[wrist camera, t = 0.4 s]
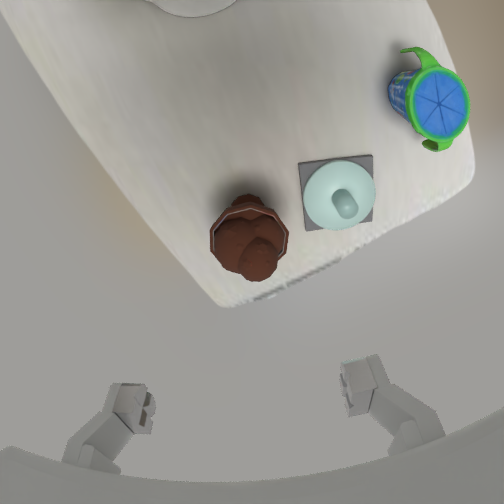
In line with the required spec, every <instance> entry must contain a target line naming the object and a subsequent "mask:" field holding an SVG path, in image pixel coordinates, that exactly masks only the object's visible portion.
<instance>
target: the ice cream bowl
mask: <svg viewBox="0 0 504 504" xmlns="http://www.w3.org/2000/svg"><path fill="white" fill-rule="evenodd" d="M288 236H289V231H288V230H287V228H286V227H285V225H284V224H283V222H282V221H281V220H280V218H279V217H278V215H277V214H276V212H275V211H274V210H273V209H271V208H268V207H265V206H264V204H263V203H262V201H261V200H260V198H259V197H256V196H253V195H250V194H247V195H243V196H239V197H237V199H236V200H235V201H234V202H233V203H232V204H231V207H228V208H226V210H225V211H224V212H223V213H222V214H221V216H220V217H219V218H218V219H217V220H216V222H215V223H214V224H213V225H212V227H211V229H210V251H211V252H212V253H213V255H214V256H215V257H216V258H217V260H218V261H219V262H220V263H221V264H222V267H223V268H225V269H226V270H228V271H231V272H235V273H238V274H242V276H243V277H244V278H245V279H246V280H249V281H251V282H253V281H257V282H260V281H263V280H265V279H267V278H269V277H270V276H271V275H272V274H273V272H274V271H275V270H276V268H277V262H278V260H279V259H280V258H281V257H282V256H283V255H285V254H286V251H287V243H288Z"/></svg>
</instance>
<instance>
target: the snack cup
mask: <svg viewBox="0 0 504 504" xmlns="http://www.w3.org/2000/svg"><path fill="white" fill-rule="evenodd" d="M412 51H413V52H415V53H416V55H417V56H418V57H419V59H420V61H421V64H422V65H421V66H422V68H420V69H418V70H412V71H406V72H401V73H399V74H398V75H397V76H395V77H394V78H393V80H392V81H391V84H390V85H389V87H388V92H389V99H390V102H391V104H392V106H393V108H394V109H395V110H396V111H397V112H398V113H399V114H400V115H401V116H402V117H403V118H405V119H406V120H407V121H408V122H410V123H411V124H412V126H413V128H414V129H415V131H416V132H417V133H420V134H421V135H422V136H424V137H426V138H428V139H427V140H424V141H423V142H422V145H423V146H424V147H425V148H427V149H429V150H431V151H434V152H438V151H442V150H445V149H447V148H449V147H450V146H451V144H452V142H453V139H454V138H456V137H457V136H458V135H459V134H460V133H461V132H462V131H463V129H464V128H465V126H466V124H467V122H468V119H469V114H470V99H469V95H468V91H467V89H466V87H465V85H464V83H463V82H462V80H461V79H460V78H459V77H458V76H457V75H456V74H455V73H454V72H452V71H451V70H449V69H446V68H444V67H442V66H440V64H439V63H438V62H437V60H436V59H435V58H434V57H433V56H432V55H431V54H430V53H429V52H427V51H426V50H424V49H422V48H420V47H413V48H407V49H403V50H401V51H400V52H401V53H406V52H412Z"/></svg>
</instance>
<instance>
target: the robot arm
mask: <svg viewBox="0 0 504 504" xmlns="http://www.w3.org/2000/svg"><path fill="white" fill-rule="evenodd" d="M145 1H150V2H152V3H154V4H155V5H157V6H158V7H159V8H161V9H162V10H164V11H166V12H168V13H170V14H173V15H177V16H182V17H200V16H206V15H210V14H213V13H216V12H219V11H221V10H223V9H225V8H227V7H228V6H230V5H231V4H233V3H234V2H235V1H236V0H145ZM340 368H341V372H342V373H341V374H340V387H341V392H342V395H343V396H344V397H345V407H346V410H347V414H348V417H350V416H356V415H361V414H365V413H368V414H369V415H370V416H371V417H372V418H373V419H375V420H376V421H377V422H378V423H379V424H380V425H381V426H382V427H384V428H385V429H386V430H387V431H388V432H389V433H390V434H392V435H393V436H394V439H393V441H392V443H391V445H390V447H389V449H388V454H389V456H388V457H385V458H382V459H378V460H374V461H371V462H367V463H363V464H359V465H355V466H351V467H346V468H342V469H338V470H332V471H327V472H321V473H316V474H310V475H304V476H296V477H289V478H280V479H271V480H259V481H242V482H185V481H169V480H157V479H147V478H139V477H131V476H124V475H120V473H121V469H120V468H119V467H118V466H117V465H116V464H115V463H113V460H114V459H115V458H116V457H117V455H118V454H119V453H120V452H121V450H122V449H123V448H124V447H125V445H126V444H127V443H128V442H129V440H130V439H131V438H132V437H133V435H134V434H151V430H152V424H153V421H152V419H151V417H152V416H153V415H154V414H155V409H156V405H155V400H154V397H153V396H152V394H150V393H149V392H147V387H146V386H145V384H134V383H113V384H112V385H111V386H110V389H109V392H108V394H107V397H106V400H105V404H104V407H103V410H102V412H98V413H97V414H96V415H95V416H94V417H93V418H92V419H91V420H90V421H88V423H86V424H85V425H84V426H83V427H82V428H81V429H80V430H79V431H78V432H76V433H75V434H74V435H73V436H72V437H71V438H70V439H69V440H68V442H67V445H66V448H65V452H64V455H63V458H62V461H61V462H59V461H56V460H53V459H49V458H46V457H43V456H39V455H36V454H34V453H31V452H28V451H25V450H22V449H20V448H17V447H14V446H7V447H6V448H4V449H3V450H1V451H0V504H504V407H502V408H501V409H499V410H497V411H496V412H494V413H492V414H490V415H488V416H486V417H484V418H483V419H480V420H478V421H476V422H474V423H472V424H471V425H468V426H466V427H464V428H462V429H460V430H458V431H455V432H453V433H451V434H449V435H445V432H444V430H443V427H442V425H441V423H440V420H439V418H438V416H437V413H436V411H435V410H433V409H432V408H430V407H429V406H427V405H426V404H424V403H423V402H421V401H419V400H418V399H416V398H415V397H413V396H412V395H410V394H409V393H407V392H406V391H404V390H403V389H401V388H400V387H398V386H396V385H395V384H390V382H389V379H388V377H387V374H386V372H385V369H384V367H383V365H382V362H381V360H380V358H379V356H378V355H377V354H375V355H371V356H367V357H361V358H357V359H353V360H349V361H344V362H341V367H340Z"/></svg>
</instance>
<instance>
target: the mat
mask: <svg viewBox="0 0 504 504" xmlns="http://www.w3.org/2000/svg"><path fill="white" fill-rule="evenodd" d="M335 160H348V161H352V162H355V163H357V164H359V165H360V166H362V167H363V168H364V169H365V170H366V171H367V172H368V173H369V175H370V176H371V177H372V179H373V156H372V155H363V156H353V157H344V158H335V159H327V160H319V161H311V162H304V163H298V165H299V174H300V182H301V191H302V200H303V191H304V187H305V184H306V182H307V180H308V178H309V177H310V175H311V174H312V173H313V172H314V171H315V170H316V169H317V168H319V167H320V166H322V165H323V164H325V163H328V162H331V161H335ZM303 210H304V220H305V229H306V231H313V230H319V229H325V228H323V227H320V226H319V225H317V224H316V223H314V222H313V221H312V220H311V218H310V217H309V216H308V214H307V212H306V209H305V206H304V202H303ZM372 214H373V207H372V209H371V211H370V212H369V214H368V215H367V216H366V217H365V218H364V219H363V220H362V221H361V222H360V223H364V222H371V221H372Z"/></svg>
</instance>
